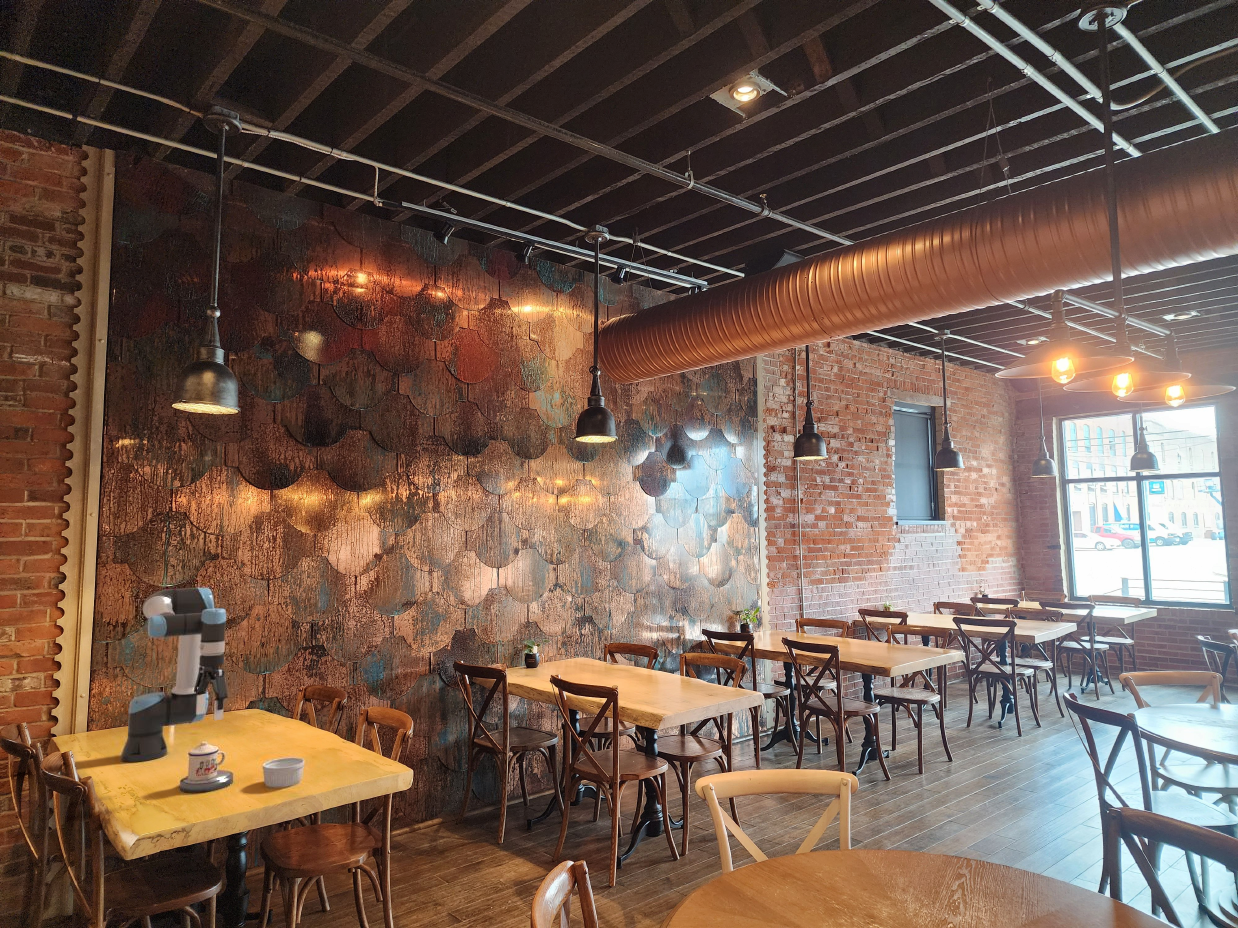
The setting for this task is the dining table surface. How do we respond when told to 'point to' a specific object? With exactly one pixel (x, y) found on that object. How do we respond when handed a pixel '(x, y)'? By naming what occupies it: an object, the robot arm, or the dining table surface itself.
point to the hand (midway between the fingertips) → (209, 716)
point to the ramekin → (283, 772)
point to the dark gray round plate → (207, 783)
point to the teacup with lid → (204, 762)
